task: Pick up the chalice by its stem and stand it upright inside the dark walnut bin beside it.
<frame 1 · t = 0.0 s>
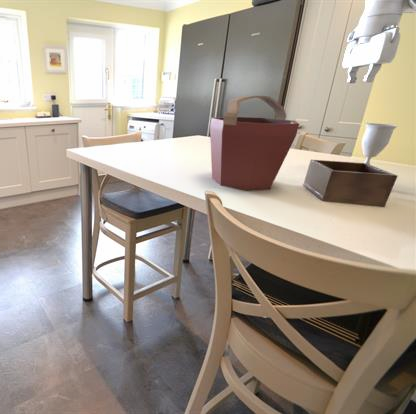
hand: (358, 82, 86), 29 cm above the table, tool pointing down, fingers open, 8 cm apart
bucket: (239, 182, 88), on the table
bin: (339, 195, 78), on the table
chalice: (358, 185, 87), on the table
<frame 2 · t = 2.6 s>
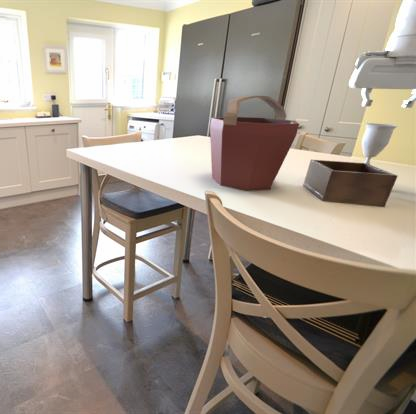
hand: (385, 107, 79), 23 cm above the table, tool pointing down, fingers open, 8 cm apart
nothing on the table moved.
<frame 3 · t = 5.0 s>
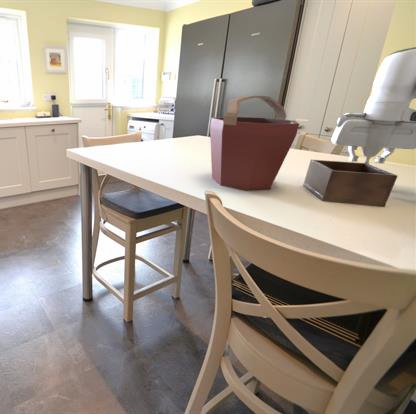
hand: (365, 162, 85), 7 cm above the table, tool pointing down, fingers closed on chalice, 5 cm apart
chalice: (358, 185, 87), on the table, touching gripper
everything else where it was.
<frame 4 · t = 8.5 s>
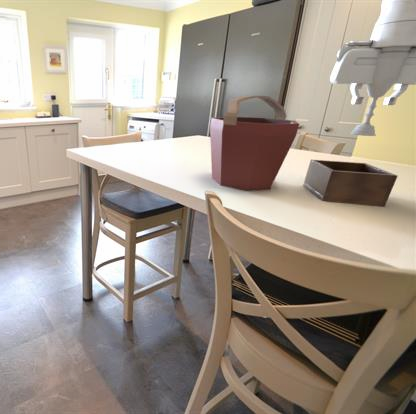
hand: (372, 104, 69), 23 cm above the table, tool pointing down, fingers closed on chalice, 5 cm apart
chalice: (362, 135, 72), point 16 cm above the table, touching gripper
everything else where it was.
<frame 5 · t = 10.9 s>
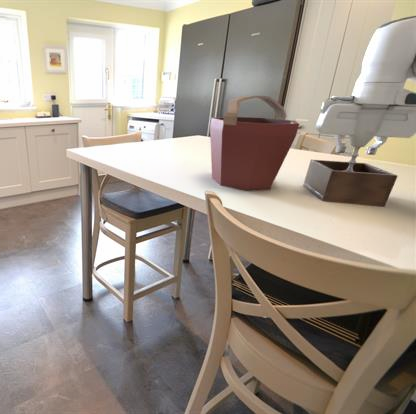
hand: (354, 153, 74), 12 cm above the table, tool pointing down, fingers closed on chalice, 5 cm apart
chalice: (346, 180, 76), point 4 cm above the table, touching gripper
everything else where it was.
when the fingers open (8 cm above the table, at t = 12.4 s): chalice stays where it is, resting on bin.
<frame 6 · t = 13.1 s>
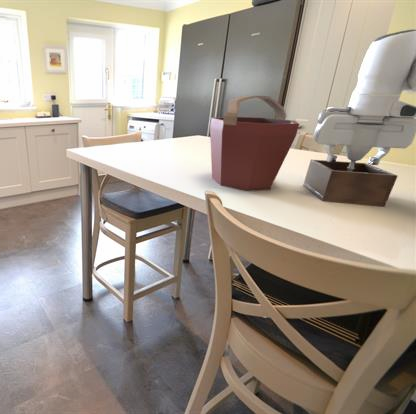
hand: (351, 163, 75), 9 cm above the table, tool pointing down, fingers open, 8 cm apart
chalice: (342, 192, 77), point 1 cm above the table, touching bin
everything else where it was.
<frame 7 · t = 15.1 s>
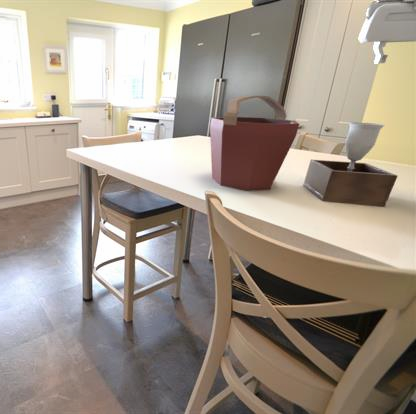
hand: (402, 63, 68), 33 cm above the table, tool pointing down, fingers open, 8 cm apart
nothing on the table moved.
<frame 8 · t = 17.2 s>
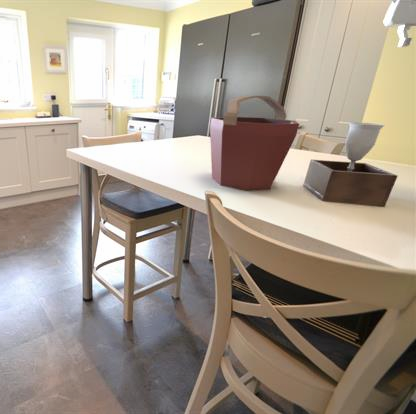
nothing on the table moved.
at the end: chalice inside the target area in the bin (0.3 cm from its centre), point 0.8 cm above the bin's base; chalice tilted 0°; the gripper is holding nothing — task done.
